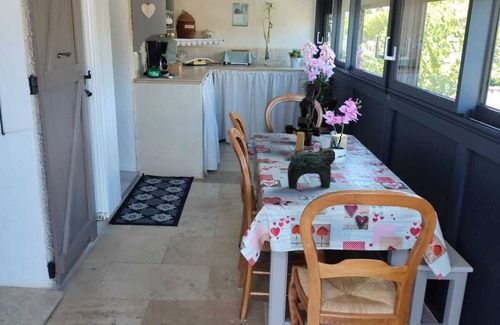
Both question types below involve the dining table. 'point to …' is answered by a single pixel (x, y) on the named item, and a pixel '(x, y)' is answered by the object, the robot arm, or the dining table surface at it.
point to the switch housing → (293, 153)
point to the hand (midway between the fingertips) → (300, 143)
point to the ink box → (337, 138)
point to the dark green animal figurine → (311, 165)
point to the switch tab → (300, 142)
